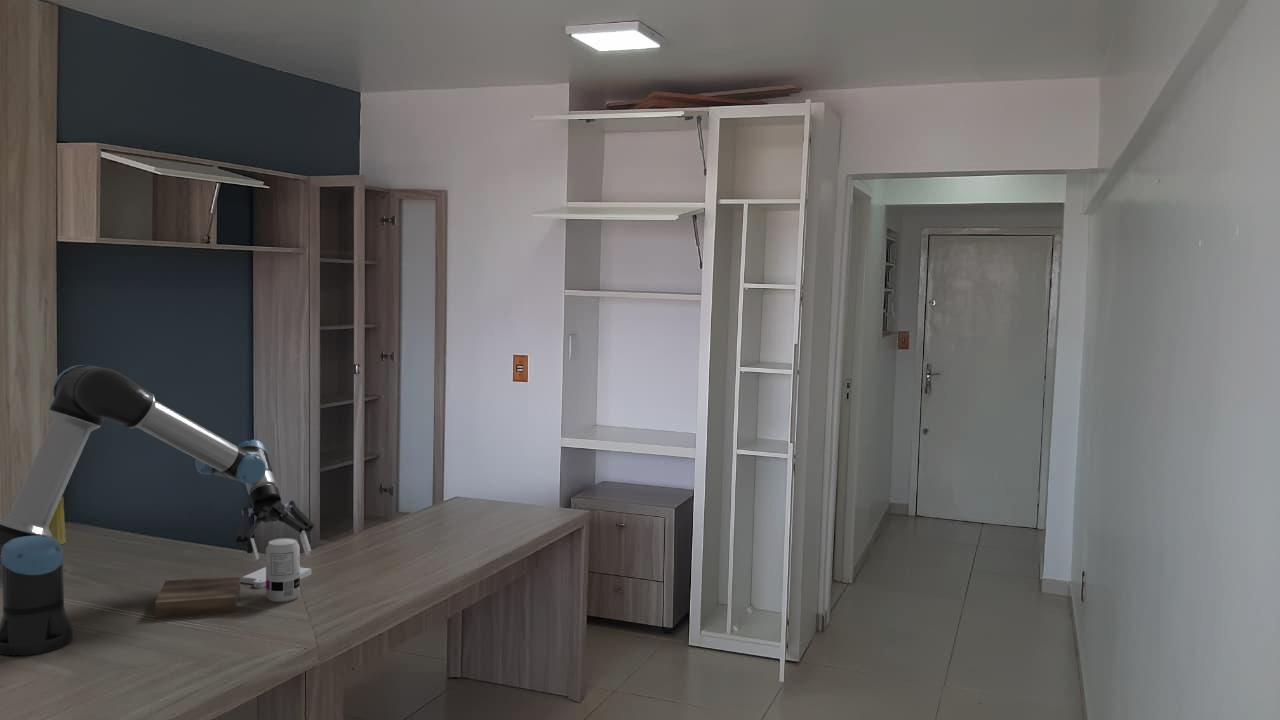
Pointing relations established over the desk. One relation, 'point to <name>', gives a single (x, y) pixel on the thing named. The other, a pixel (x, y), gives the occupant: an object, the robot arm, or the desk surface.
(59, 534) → the vase
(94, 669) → the desk surface
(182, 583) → the walnut riser
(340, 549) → the desk surface
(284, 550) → the supplement can
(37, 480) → the robot arm
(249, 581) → the mounting plate
